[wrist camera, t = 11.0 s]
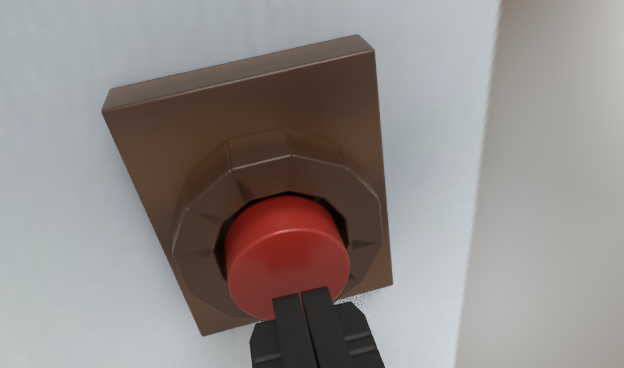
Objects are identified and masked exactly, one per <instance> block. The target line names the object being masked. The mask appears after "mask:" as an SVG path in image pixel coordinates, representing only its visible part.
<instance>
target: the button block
mask: <svg viewBox="0 0 624 368" xmlns="http://www.w3.org/2000/svg"><path fill="white" fill-rule="evenodd" d="M101 113H102V115H103V117H104V119H105V122H106V124H107V126H108V128H109V130H110V133H111V135H112V137H113V139H114V142H115V144H116V146H117V148H118V151H119V153H120V155H121V157H122V159H123V162H124V164H125V166H126V168H127V171H128V173H129V175H130V177H131V179H132V182H133V184H134V186H135V188H136V191H137V193H138V195H139V197H140V200H141V202H142V204H143V206H144V208H145V211H146V213H147V215H148V217H149V220H150V222H151V224H152V226H153V228H154V231H155V233H156V235H157V237H158V240H159V242H160V244H161V246H162V248H163V251H164V253H165V255H166V257H167V260H168V262H169V264H170V266H171V269H172V271H173V273H174V275H175V277H176V280H177V282H178V284H179V286H180V289H181V291H182V293H183V295H184V297H185V300H186V302H187V304H188V306H189V309H190V311H191V313H192V315H193V318H194V320H195V322H196V324H197V326H198V329H199V331H200V333H201V335H202V336H207V335H211V334H214V333H218V332H222V331H225V330H229V329H233V328H236V327H240V326H244V325H247V324H251V323H255V322H258V321H268V320H263V319H259V318H256V317H253V316H251V315H249V314H247V313H246V312H244V311H243V310H242V309H240V308H239V307H238V306H237V304H236V303H235V302H234V300H233V299H232V297H231V295H230V293H229V289H228V281H227V269H226V257H225V239H226V235H227V232H228V230H229V228H230V226H231V225H232V223H233V221H234V220H235V219H236V218H237V217H238V215H240V214H241V213H242V212H243V211H244V210H245V209H247V208H248V207H249V206H251V205H253V204H255V203H257V202H259V201H261V200H264V199H267V198H270V197H275V196H283V195H294V196H301V197H304V198H308V199H310V200H313V201H315V202H317V203H318V204H320V205H321V206H323V207H324V208H325V209H326V210H327V211H328V212H329V213H330V214H331V216H332V217H333V219H334V222H335V224H336V226H337V229H338V231H339V234H340V236H341V239H342V241H343V243H344V246H345V248H346V251H347V253H348V256H349V260H350V273H349V277H348V281H347V283H346V285H345V287H344V289H343V290H342V292H341V293H340V294H339V295H338V297H337V298H336V299H335V300H334V301H333V303H334V302H336V301H337V300H339V299H343V298H347V297H350V296H354V295H358V294H361V293H365V292H369V291H372V290H376V289H380V288H383V287H387V286H391V285H393V277H392V264H391V251H390V238H389V226H388V213H387V200H386V187H385V175H384V162H383V149H382V136H381V124H380V111H379V98H378V86H377V73H376V60H375V50H374V49H373V48H372V47H371V46H370V45H369V44H368V43H367V42H366V41H365V40H364V39H363V38H362V37H361V36H360V35H357V34H356V35H352V36H347V37H343V38H338V39H334V40H329V41H325V42H320V43H316V44H311V45H307V46H302V47H298V48H293V49H289V50H284V51H280V52H275V53H271V54H266V55H262V56H257V57H253V58H248V59H244V60H239V61H235V62H230V63H226V64H221V65H217V66H212V67H208V68H203V69H199V70H194V71H190V72H185V73H181V74H176V75H172V76H167V77H163V78H158V79H154V80H149V81H145V82H140V83H135V84H131V85H126V86H122V87H117V88H113V89H110V90H109V93H108V95H107V98H106V100H105V102H104V105H103V107H102V110H101Z"/></svg>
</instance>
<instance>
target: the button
mask: <svg viewBox="0 0 624 368" xmlns="http://www.w3.org/2000/svg"><path fill="white" fill-rule="evenodd" d="M225 257H226V269H227V281H228V289H229V293H230V295H231V297H232V299H233V300H234V302H235V303H236V304H237V306H238V307H239V308H240V309H242V310H243V311H244V312H246V313H247V314H249V315H251V316H253V317H256V318H259V319H263V320H268V321H269V320H273V319H275V314H274V309H273V303H272V298H276V297H280V296H285V295H289V294H294V293H299V296H300V300H301V293H300V292H302V291H306V290H311V289H315V288H319V287H324V286H327V287H328V289H329V292H330V295H331V298H332V301H334V300H335V299H336V298H337V297H338V295H339V294H340V293H341V292H342V290H343V289H344V287H345V285H346V283H347V281H348V277H349V273H350V260H349V256H348V253H347V251H346V248H345V246H344V243H343V241H342V239H341V236H340V234H339V231H338V229H337V226H336V224H335V222H334V219H333V217H332V216H331V214H330V213H329V212H328V211H327V210H326V209H325V208H324V207H323V206H321V205H320V204H318V203H317V202H315V201H313V200H310V199H308V198H304V197H301V196H294V195H283V196H275V197H270V198H267V199H264V200H261V201H259V202H257V203H255V204H253V205H251V206H249V207H248V208H247V209H245V210H244V211H243V212H242V213H241V214H240V215H238V217H237V218H236V219H235V220H234V221H233V223H232V225H231V226H230V228H229V230H228V232H227V235H226V239H225ZM301 304H302V300H301ZM302 308H303V306H302Z"/></svg>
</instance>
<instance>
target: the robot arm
mask: <svg viewBox="0 0 624 368" xmlns="http://www.w3.org/2000/svg"><path fill="white" fill-rule="evenodd" d="M300 293H301V300H302V304H301V300H300V296H299V293H294V294H289V295H285V296H280V297H276V298H272V303H273V309H274V314H275V319H273V320H269V321H265V322H260V323H256V324H255V327H254V330H253V333H252V336H251V339H250V350H251V359H252V367H253V368H385V366H384V364H383V361H382V359H381V356H380V353H379V351H378V350H377V346H376V343H375V341H374V338H373V335H372V334H371V330H370V328H369V325H368V323H367V320H366V317H365V315H364V314H363V313H362V312H361V311H360V310H359V309H358V308H357V307H356V306H355V305H354V304H353V303H352V302H351V301H350V302H346V303H342V304H337V305H334V304H333V301H332V298H331V295H330V292H329V289H328V287H327V286H324V287H319V288H315V289H311V290H306V291H302V292H300ZM302 306H303V308H302Z"/></svg>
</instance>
